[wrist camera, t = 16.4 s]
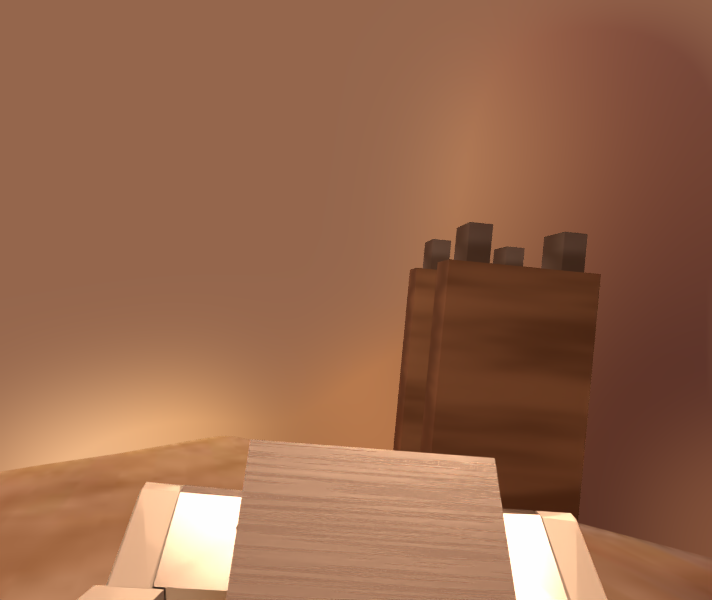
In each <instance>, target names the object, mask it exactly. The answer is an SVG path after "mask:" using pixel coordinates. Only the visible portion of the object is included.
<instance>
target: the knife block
mask: <svg viewBox="0 0 712 600" xmlns="http://www.w3.org/2000/svg"><path fill="white" fill-rule="evenodd" d="M492 230H493V224H484V223H474V222H469V223H467V224H465V225H463V226H460V227H458V228H457V234H456V244H455V254H454V260H451V259H449V257H450V247H451V241H446V240H437V239H432V240H430V241H428V242H426V243H425V252H424V262H423V268H415V269H411V270H410V276H409V287H408V297H407V308H406V320H405V330H404V341H403V352H402V363H401V373H400V384H399V394H398V405H397V416H396V426H395V438H394V448H393V450H395V451H408V452H421V453H434V454H447V455H460V456H473V457H486V458H495V464H496V471H497V477H498V484H499V490H500V497H501V503H502V509H518V510H532V511H534V512H535V511H546V512H561V513H571V514H572V515H573V516H574V517H575V518H576V520H577V522H578V515H579V504H580V493H581V481H582V471H583V460H584V450H585V439H586V427H587V416H588V405H589V396H590V384H591V374H592V363H593V352H594V342H595V331H596V319H597V309H598V298H599V287H600V277H601V275H600V274H592V273H584V266H585V256H586V244H587V234H581V233H571V232H562V233H558V234H555V235H551V236H547V237H544V246H543V257H542V268H532V267H523V259H524V248H517V247H503V248H499V249H495V250H494V259H493V264H492V263H490V251H491V241H492Z"/></svg>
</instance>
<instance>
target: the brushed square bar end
mask: <svg viewBox="0 0 712 600" xmlns="http://www.w3.org/2000/svg"><path fill="white" fill-rule="evenodd" d="M226 600H516V594H515V588H514V581H513V575H512V568H511V562H510V555H509V549H508V542H507V536H506V529H505V523H504V516H503V510H502V503H501V497H500V490H499V484H498V477H497V471H496V464H495V458H486V457H473V456H460V455H447V454H434V453H421V452H408V451H395V450H382V449H368V448H354V447H342V446H329V445H315V444H303V443H290V442H277V441H263V440H250V445H249V452H248V458H247V465H246V471H245V478H244V485H243V491H242V498H241V504H240V511H239V517H238V524H237V530H236V537H235V543H234V550H233V557H232V563H231V570H230V576H229V583H228V589H227V596H226Z"/></svg>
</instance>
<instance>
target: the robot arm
mask: <svg viewBox="0 0 712 600" xmlns="http://www.w3.org/2000/svg"><path fill="white" fill-rule="evenodd" d="M241 498H242V491H241V490H231V489H220V488H210V487H200V486H190V485H174V484H163V483H152V482H146V484H145V485H144V486H143V488H142V489H141V490H140V492H139V495H138V498H137V501H136V504H135V506H134V509H133V512H132V515H131V517H130V520H129V523H128V526H127V529H126V531H125V534H124V537H123V540H122V542H121V545H120V548H119V551H118V553H117V556H116V559H115V562H114V565H113V567H112V570H111V573H110V576H109V578H108V581H107V584H106V585H94V586H92V587H91V588H90V589H89V590H88V591H87V592H85V593H84V594H83V595H82V596H81V597H79V598H78V599H77V600H226V596H227V589H228V583H229V576H230V570H231V563H232V557H233V550H234V543H235V537H236V530H237V524H238V517H239V511H240V504H241ZM502 510H503V516H504V523H505V529H506V536H507V542H508V549H509V555H510V562H511V568H512V575H513V581H514V588H515V594H516V600H607V597H606V594H605V592H604V589H603V587H602V584H601V582H600V579H599V576H598V574H597V571H596V569H595V566H594V564H593V561H592V558H591V556H590V553H589V551H588V548H587V546H586V543H585V540H584V538H583V535H582V533H581V530H580V528H579V525H578V522H577V520H576V518H575V517H574V516H573V515H572V514H571V513H561V512H546V511H535V512H534V511H532V510H518V509H502Z"/></svg>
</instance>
